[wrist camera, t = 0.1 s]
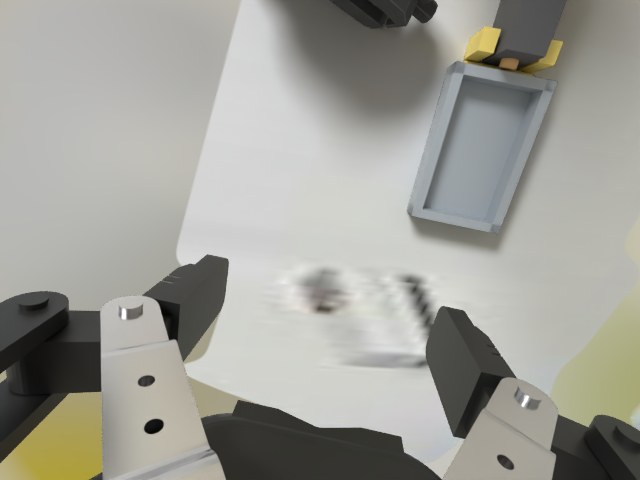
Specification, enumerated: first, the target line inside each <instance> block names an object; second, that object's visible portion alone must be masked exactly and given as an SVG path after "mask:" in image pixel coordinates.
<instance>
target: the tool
mask: <svg viewBox="0 0 640 480" xmlns="http://www.w3.org/2000/svg"><path fill="white" fill-rule="evenodd" d="M330 1H332V2H333V3H334V4H336V5H337V6H338V7H340V8H341V9H342V10H344V11H345V12H347V13H348V14H349V15H351V16H352V17H353V18H355V19H356V20H357V21H359V22H360V23H361V24H363V25H365V26H367V27H370V28H382V27H383V25H384V23H385V21H386V19H387V16H389V18H388V20H387V22H386V24H385V26H386V27H387V28H392V27H403V26H407V24H408V22H409V20H410V18H411V15H413V16H414V17H415V18H417V19H418V20H419V21H420V22H421V23H426V22H428V21H429V20H430V19H431V18H432V17H433V15H434V14H435V12H436V9H437V7H438V5H437V3H436V2H435V1H434V0H330Z"/></svg>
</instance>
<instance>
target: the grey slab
mask: <svg viewBox="0 0 640 480" xmlns="http://www.w3.org/2000/svg"><path fill="white" fill-rule="evenodd" d="M565 3H566V0H501V2H500V5H499V8H498V12H497V15H496V18H495V21H494V24H493V27H492V28H497V29H501V32H500V35H499V38H498V41H497V44H496V47H495V50H494V53H493V54H491V55H490V56H488V57H486V58H484V59H483V60H482V62H481V63H483V64H488V65H493V66H498V67H499V68H500V69H503V70H516V69H517V68H519V67H522V66H524V65H527V64H529V63H531V62H534V61H536V60H539V59H541V58H544V57H546V54H547V51H548V49H549V46H550V43H551V41H552V38H553V35H554V33H555V30H556V27H557V25H558V22H559V19H560V16H561V14H562V11H563V8H564V6H565Z"/></svg>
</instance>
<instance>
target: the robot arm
mask: <svg viewBox="0 0 640 480" xmlns="http://www.w3.org/2000/svg"><path fill="white" fill-rule="evenodd" d="M228 266H229V261H228V259H227V258H222V257H218V256H213V255H206V256H205V257H204V258H202V259H201V260H200V261H199V262H198V263H196V264H195V265H194V264H188V265H185V266H182V267H179V268H177V269H176V270H174V271H173V272H172V273H171V274H170V275H169V276H167V277H165V278H164V279H163V280H162V281H160V282H159V283H158V284H156V285H155V286H154V287H152V288H151V289H150V290H149V291H147V292H146V293H145V294H143V295H142V296H137V295H133V296H124V297H119V298H116V299H113V300H111V301H109V302H107V303H106V304H105V305H104V306H103V307H102V308H101V311H69V300H68V298H67V297H66V296H65V295H63V294H60V293H57V292H48V291H44V292H42V291H40V292H31V293H25V294H21V295H18V296H15V297H12V298H9V299H7V300H5V301H3V302H1V303H0V374H1V373H2V372H3V371H5V370H6V374H7V378H6V379H5V380H4V381H2V382H1V383H0V463H1V462H2V461H3V460H4V459H5V458H6V457H7V456H8V455H9V454H10V453H11V452H12V451H13V450H14V448H16V447H17V446H18V445H19V444H20V443H21V442H22V441H23V440H24V438H25V437H27V435H29V434H30V433H31V431H32V430H33V429H34V428H35V427H36V426H37V425H38V424H39V423H40V422H41V421H42V420H43V419H44V418H45V417H46V416H47V415H48V414H49V413H50V412H51V411H52V410H53V409H54V408H55V407H56V406H57V405H58V404H59V403H60V402H61V401H62V400H63V399H64V398H65V397H66V396H67V395H68V394H69V393H81V392H101V393H102V455H103V456H102V458H103V459H102V460H103V472H102V473H100V474H98V475H97V476H95V477H93V478H91V479H89V480H640V431H639V430H637V429H636V428H634V427H632V426H631V425H629V424H626V423H625V422H623V421H621V420H619V419H616V418H613V417H610V416H606V415H597V416H595V418H594V419H593V421H592V422H591V424H590V425H589V427H586V426H584V425H581V424H579V423H577V422H574V421H572V420H570V419H567V418H565V417H562V416H560V415H558V408H557V406H556V405H555V403H554V402H553V401H552V400H551V398H549V397H548V396H547V395H546V394H545V393H544V392H543V391H541V390H540V389H538V388H537V387H535V386H533V385H532V384H530V383H528V382H525V381H523V380H520V379H517V378H516V376H515V375H514V373H513V372H512V370H511V369H510V368H509V366H508V365H507V363H506V362H505V360H504V359H503V357H501V356H500V353H499V352H498V350H497V349H496V348H495V346H494V344H493V343H492V341H491V340H490V339H489V337H488V336H487V335H486V334H484V333H483V332H482V331H481V330H480V329H479V328H477V327H475V326H474V325H473V323H472V322H471V320H470V319H469V317H468V316H467V314H466V313H465V312H464V311H463V310H459V309H454V308H450V307H445V306H442V307H441V308H440V309H439V311H438V313H437V316H436V318H435V321H434V324H433V327H432V330H431V332H430V335H429V338H428V341H427V345H426V359H427V362H428V365H429V368H430V371H431V374H432V377H433V379H434V382H435V385H436V388H437V391H438V394H439V397H440V400H441V403H442V405H443V408H444V411H445V414H446V417H447V420H448V423H449V426H450V428H451V431H452V434H453V436H454V437H458V438H463V439H465V440H464V442H463V444H462V446H461V448H460V449H459V451H458V453H457V454H456V456H455V458H454V460H453V462H452V463H451V465H450V467H449V468H448V470H447V472H446V474H445V475H444V477H443V479H441V478H440V477H439V476H438V475H436V474H435V473H434V472H433V471H432V470H431V469H429V468H428V467H427V466H426V465H424V464H423V463H421V462H420V461H419V460H417V459H415V458H414V457H412V456H410V455H408V454H406V453H404V450H403V444H402V438H401V437H400V436H395V435H391V434H386V433H382V432H378V431H373V430H369V429H364V428H319V427H315V426H313V425H311V424H309V423H307V422H305V421H302V420H300V419H298V418H296V417H294V416H292V415H290V414H288V413H285V412H283V411H281V410H279V409H276V408H272V407H267V406H263V405H258V404H254V403H249V402H245V401H240V400H238V402H237V404H236V406H235V409H234V411H233V413H225V414H216V415H211V416H207V417H204V418H201V419H200V415H199V412H198V409H197V406H196V402H195V399H194V396H193V393H192V389H191V387H190V383H189V380H188V376H187V373H186V370H185V367H184V363H183V362H184V360H185V359H186V357H187V356H188V355H189V354H190V352H191V351H192V349H193V348H194V347H195V345H196V344H197V343H198V341H199V340H200V338H201V337H202V336H203V334H204V333H205V332H206V330H207V329H208V328H209V326H210V325H211V323H212V322H213V321H214V319H215V318H216V317H217V315H218V314H219V312H220V311H221V309H222V306H223V303H224V299H225V292H226V283H227V275H228Z"/></svg>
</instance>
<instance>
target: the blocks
mask: <svg viewBox="0 0 640 480" xmlns="http://www.w3.org/2000/svg"><path fill="white" fill-rule="evenodd" d="M500 32H501V29H497V28H492V27H487V26H485V27H484V28H482V29H481V30H480V31H479V32H477V33H476V34H475V35H474V36H472V37H471V38H470V40H469V44H468V47H467V50H466V54H465V57H464V60H465V61H463V63H468V64H473V65H478V66H483V67H488V68H493V69H498V70H503V69H500V68H499V67H495V66H491V65H486V64H481V63H476V62H479V61H481V60H483V59H484V58H486V57H488V56H490V55H491V54H493V53H494V50H495V47H496V44H497V41H498V38H499V35H500ZM562 44H563V42H562V41H557V40H552V41H551V43H550V46H549V49H548V51H547V54H546V57H544V58H541V59H539V60H536V61H534V62H531V63H529V64H527V65H524V66H522V67H519V68H518V71H515V70H503V71H508V72H513V73H518V74H523V75H528V76H534V74H530V73H534V72H537V71H540V70H543V69H546V68H549V67H551V66H554V65H555V62H556V60H557V57H558V55H559V52H560V49H561V47H562ZM466 60H469V61H466ZM471 61H474V62H471ZM520 71H523V72H520ZM525 72H528V73H525Z"/></svg>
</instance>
